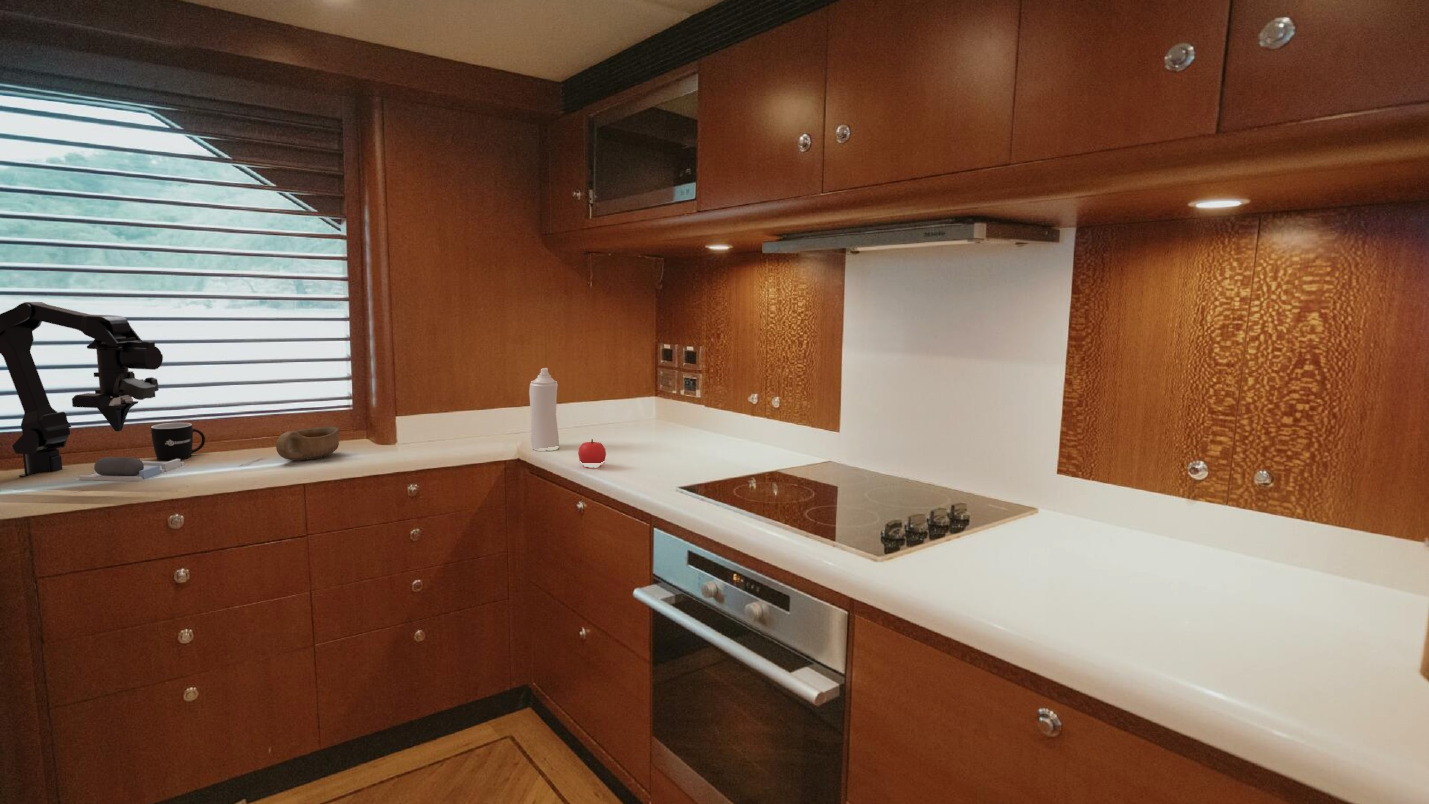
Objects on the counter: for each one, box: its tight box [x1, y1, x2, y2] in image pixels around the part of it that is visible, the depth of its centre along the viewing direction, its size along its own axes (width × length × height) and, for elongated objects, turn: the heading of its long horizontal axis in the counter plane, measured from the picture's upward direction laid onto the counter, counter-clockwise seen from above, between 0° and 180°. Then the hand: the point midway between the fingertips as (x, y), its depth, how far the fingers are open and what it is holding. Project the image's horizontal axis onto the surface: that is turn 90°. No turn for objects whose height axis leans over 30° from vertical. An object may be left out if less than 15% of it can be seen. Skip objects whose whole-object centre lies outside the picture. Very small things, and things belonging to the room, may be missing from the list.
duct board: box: [74, 459, 189, 482], centre depth 183 cm, size 16×16×3 cm
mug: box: [150, 422, 206, 462], centre depth 199 cm, size 12×9×10 cm
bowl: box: [275, 426, 340, 461], centre depth 206 cm, size 18×14×10 cm
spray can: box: [528, 367, 560, 450], centre depth 229 cm, size 12×11×25 cm
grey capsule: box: [93, 456, 144, 476], centre depth 178 cm, size 11×5×5 cm, turn 92°
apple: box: [577, 438, 607, 463], centre depth 208 cm, size 8×8×8 cm
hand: (118, 431), depth 180 cm, fingers closed
